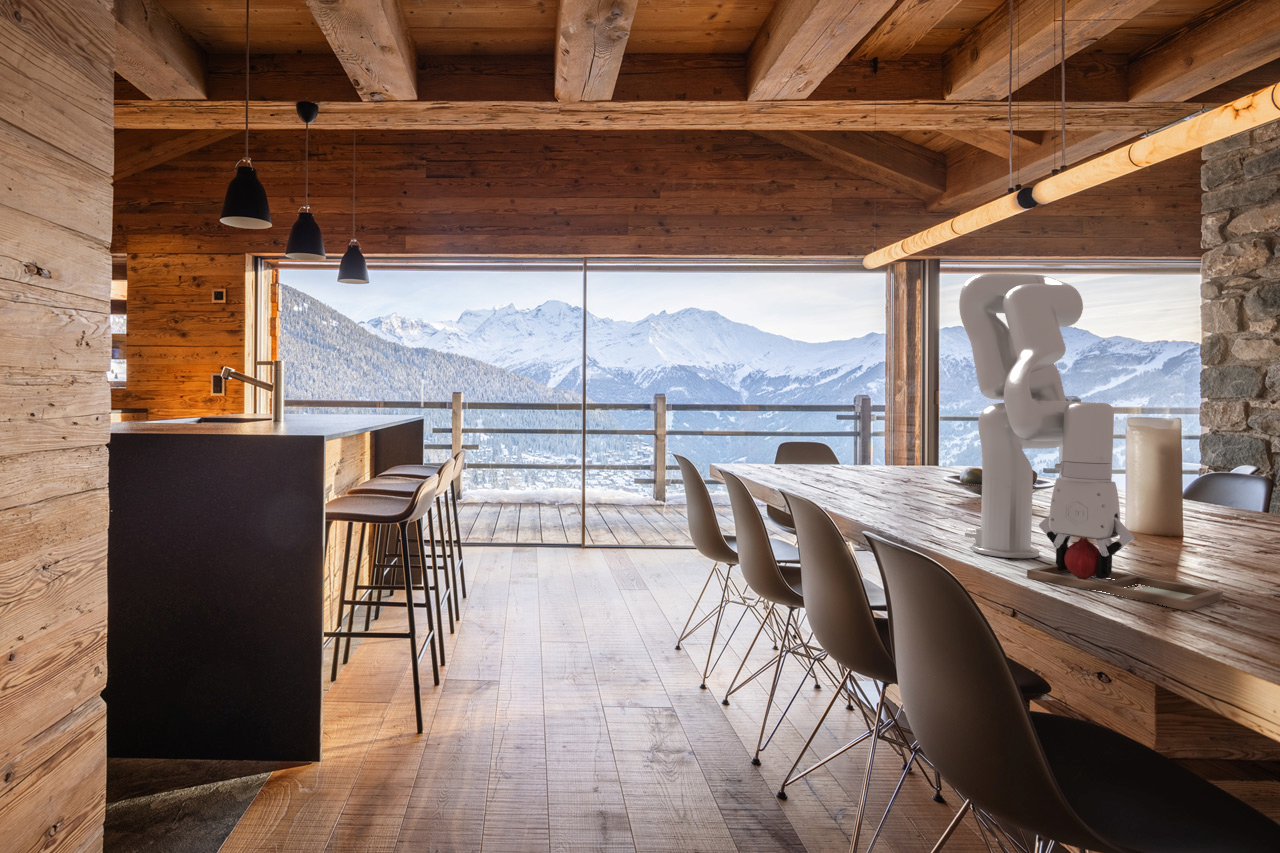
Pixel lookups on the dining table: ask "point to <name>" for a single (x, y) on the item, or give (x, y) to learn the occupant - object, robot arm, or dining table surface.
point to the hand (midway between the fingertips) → (1082, 572)
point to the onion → (1082, 559)
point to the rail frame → (1165, 595)
